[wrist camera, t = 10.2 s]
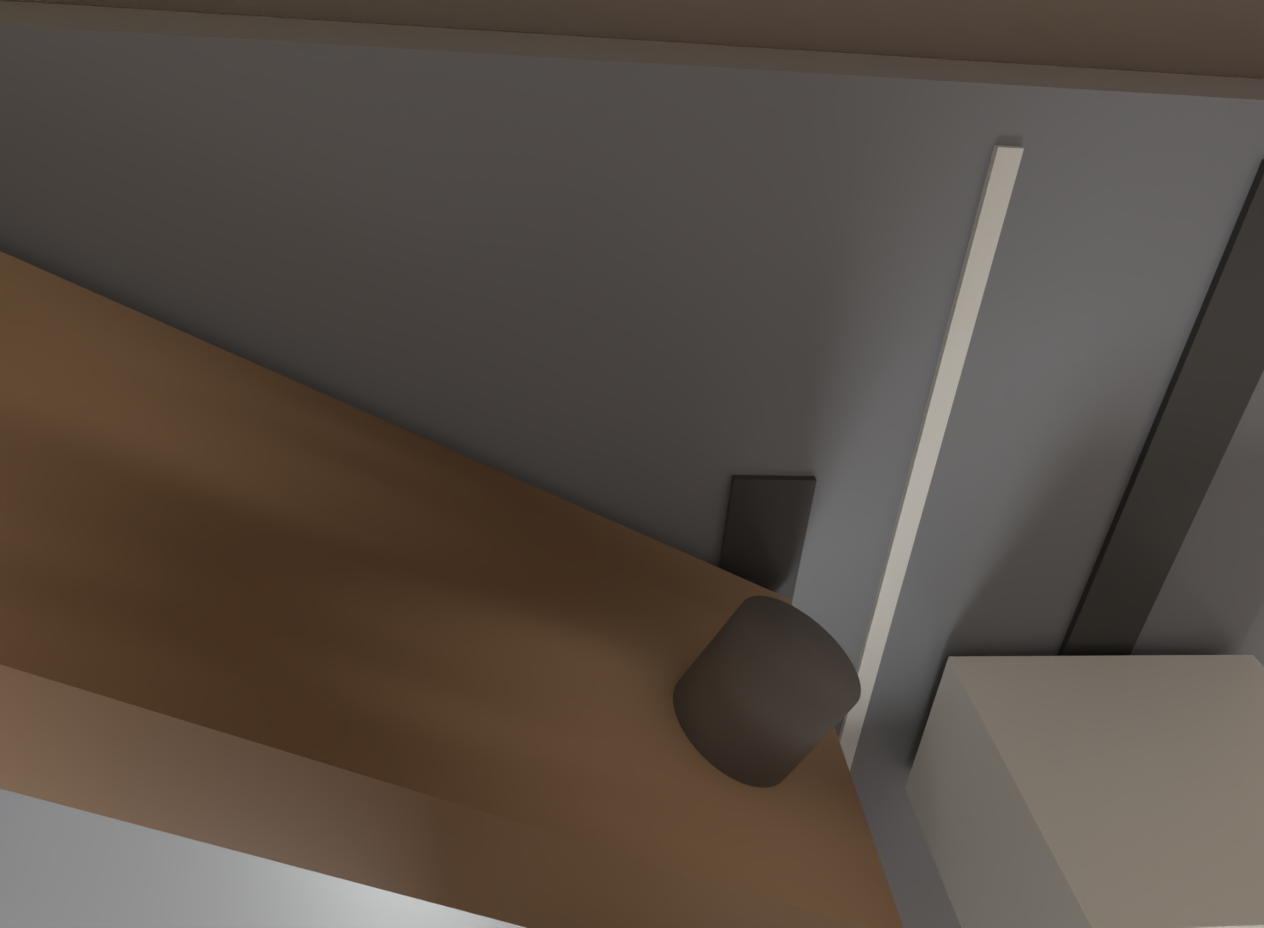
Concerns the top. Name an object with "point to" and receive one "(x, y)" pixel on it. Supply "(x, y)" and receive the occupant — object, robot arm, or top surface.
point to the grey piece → (691, 340)
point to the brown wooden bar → (393, 653)
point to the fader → (1096, 790)
